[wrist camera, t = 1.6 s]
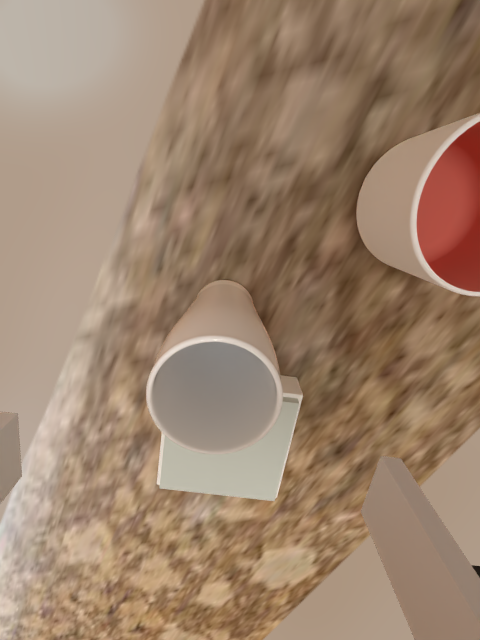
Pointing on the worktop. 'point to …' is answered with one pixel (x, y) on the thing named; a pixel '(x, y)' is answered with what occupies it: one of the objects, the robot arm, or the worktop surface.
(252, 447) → the coaster
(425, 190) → the cup
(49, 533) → the worktop surface
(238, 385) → the drinking glass
